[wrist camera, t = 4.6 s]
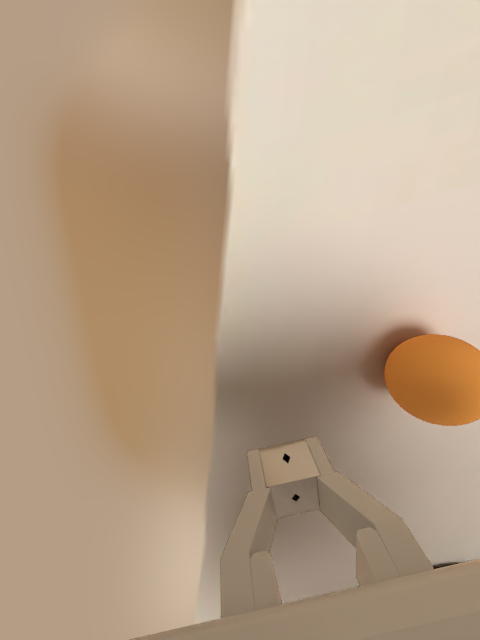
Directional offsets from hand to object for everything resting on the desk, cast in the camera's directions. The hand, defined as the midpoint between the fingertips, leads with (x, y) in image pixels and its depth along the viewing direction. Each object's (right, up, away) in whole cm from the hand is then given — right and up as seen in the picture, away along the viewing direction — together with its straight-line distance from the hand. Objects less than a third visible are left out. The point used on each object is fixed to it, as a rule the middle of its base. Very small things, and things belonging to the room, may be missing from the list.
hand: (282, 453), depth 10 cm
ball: (+9, +2, +4) cm, 10 cm away
